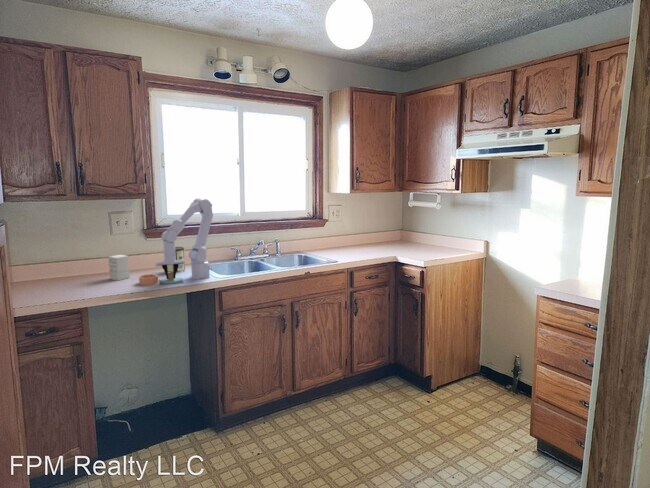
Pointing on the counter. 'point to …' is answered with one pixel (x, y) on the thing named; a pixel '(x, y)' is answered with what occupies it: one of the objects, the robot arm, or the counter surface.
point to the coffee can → (179, 256)
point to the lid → (170, 279)
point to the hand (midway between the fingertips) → (170, 278)
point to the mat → (167, 284)
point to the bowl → (148, 279)
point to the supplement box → (119, 267)
